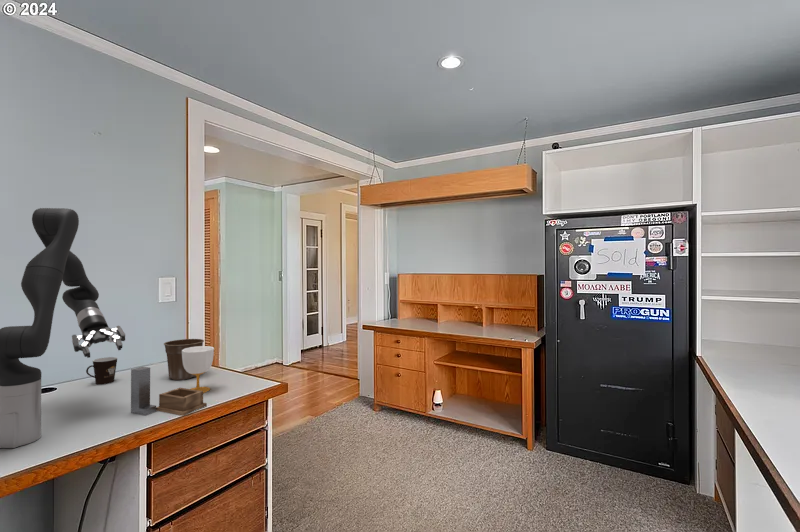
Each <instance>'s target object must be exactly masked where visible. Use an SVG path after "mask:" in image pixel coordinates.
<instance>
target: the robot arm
mask: <svg viewBox="0 0 800 532" xmlns="http://www.w3.org/2000/svg"><path fill="white" fill-rule="evenodd" d="M31 222H32V226H33V229H34V230H35V233H36V235H37V236H38V238H39V239H40V241H41V243H42V244H43V245H44V247H45V248H44V249H42V250H41V251H40V252H38V253H37V254H36V255H35V256H34V257H33V258H32V259H30V260H29V261H28V263H27V264H26V266H25V269H24V272H23V275H22V278H21V281H20V282H21V283H20V286H21V290H22V291H23V294H24V295H25V298H26V299H27V300H28V302H29V303H30V305H31V308H32V310H33V317H34V318H33V321H32V325H18V326H17V325H15V326H12V325H11V326H4V327H1V328H0V449H15V448H17V447H20V446H25V445H29V444H31V443H35V442H36V441H38V440H39V439H40V438H42V370H41V369H40V368H38V367H35V366H34V367H33V366H31V365H27V364H25V363H23V362H22V361H21V360H20V359H29V358H39V357H41V356H43V355H44V354H45V353H46V351H47V350H48V346H49V343H50V337H51V333H52V332H51V331H52V326H53V325H52V324H53V319H54V314H55V313H54V312H55V308H56V303H57V299H58V296H59V293H60V289H61V285H62V283H63V284H64V286H66V287H71V288H70V289H66V290H64V292H63V293H62V300H63V302H64V304H65V305H66V306H67V307H68V308H69V309H70V310H72V311H73V313H74V315H75V317H76V319H77V324H78V327H79V328H80V332H81V335H77V334H72V335H71V342H72V346H73V350H74V352H75V353H77V352H80V351H81V352H82V353H83V356H84V357H85V358H87V359H88V358H91V352H90V349H89V348H91V346H92V345H93V344H94V345H96V344H99V343H104V342H109V343H115V346H116V348H117V350H118V351H121V350H122V349H123V342H125V341H126V333H125V332H124V330H123V328H122V327H121V325H116V327H115V328H111V327H109V325H108V322H107V320H106V318H105V316H104V314H103V312H102V311H101V310H100V307H99V305H98V303H97V302H96V301H98V299H99V297H100V294H99V290H97V287H95V286H94V285H93V284H92V282H91V281H90V280H89V278H88V276H87V274H86V270H85V268H84V265H83V263H82V260H80V258H79V257H78V256H77V255H76V254H75V253H73V252H72V251H71V249H72V245H73V243H74V240H75V238H76V235H77V232H78V229H79V225H80V223H79V222H80V220H79V215H78V212H77V211H76V210H74V209H71V208H59V207H58V208H57V207H55V208H53V207H51V208H50V207H42V208H41V207H40V208H37V209H35V210H34V211H33V213H32V216H31ZM81 340H83V342H82V344H79V343H80V342H81Z"/></svg>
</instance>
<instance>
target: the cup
mask: <svg viewBox="0 0 800 532" xmlns="http://www.w3.org/2000/svg"><path fill="white" fill-rule="evenodd" d="M214 351H215V347H213V346H209V345H207V346H206V345H203V346H197V347H190V348H185V349H183V350H182V361H183V366H184V369H185V370H186V371H187V372H188V373H190V374H193V375H196V377H195V378H196V387H191V388H190V389H192V390H199V391H203V394H205V393H207V391H208V392H209V391H211V388H210V387H208V386H200V385H201V384H200V379H201V378H200V376H202V375H203V374H205V373H206V372H209V370H210V369H211V367H212V364H213V361H214V354H215V353H214Z"/></svg>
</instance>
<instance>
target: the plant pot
mask: <svg viewBox="0 0 800 532" xmlns="http://www.w3.org/2000/svg"><path fill="white" fill-rule="evenodd" d="M204 342H205V340H204V339H201V338H183V339H174V340H169V341H166V342H164V343H163V346H164V348H165V353H166V361H167V371H168V379H169V380H174V381H183V380H189V379H192V378H196V375H193V374H190V373H188V372H187V371H186V370H185V369H184V366H183V361H182V350H183V349H185V348H190V347H197V346H204Z"/></svg>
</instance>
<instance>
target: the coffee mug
mask: <svg viewBox="0 0 800 532" xmlns="http://www.w3.org/2000/svg"><path fill="white" fill-rule="evenodd" d="M117 363H118V357H116V356H115V357H114V356H107V357H100V358H96V359H93V360H92V365H89V366H88V367H87V368H86V370H85V372H86V375H87V376H89V377H91V378H94V380H95V381H94V382H95V385H99V386H100V385H108V384H112V383H114V382H115V378H116V370H117ZM92 367H93V374H94V375H93V374H90V373H89V369H90V368H92Z"/></svg>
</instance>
